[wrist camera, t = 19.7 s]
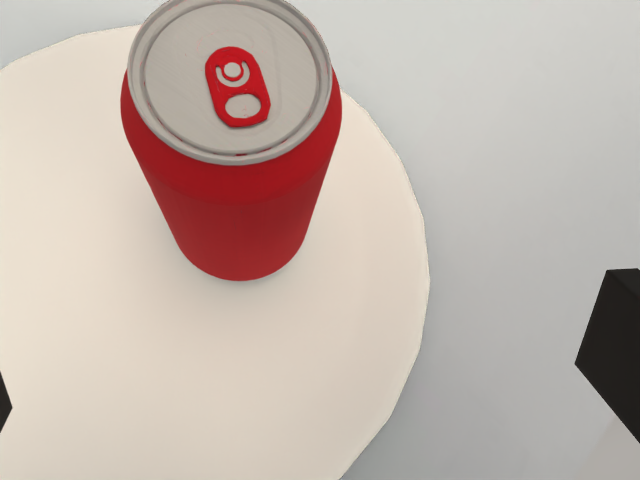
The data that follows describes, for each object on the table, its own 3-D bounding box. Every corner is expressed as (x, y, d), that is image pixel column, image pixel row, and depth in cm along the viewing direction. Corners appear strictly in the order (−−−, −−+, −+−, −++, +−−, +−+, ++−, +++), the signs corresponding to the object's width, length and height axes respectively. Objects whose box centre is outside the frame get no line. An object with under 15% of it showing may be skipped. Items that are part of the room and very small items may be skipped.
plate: (53, -30, 29) (45, -49, 28) (477, 137, 29) (487, 126, 28) (-260, 426, 21) (-290, 428, 20) (326, 646, 21) (330, 660, 20)
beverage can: (285, 147, 26) (314, -48, 15) (322, 264, 25) (387, 148, 13) (158, 176, 25) (82, -14, 13) (189, 301, 23) (133, 207, 12)
